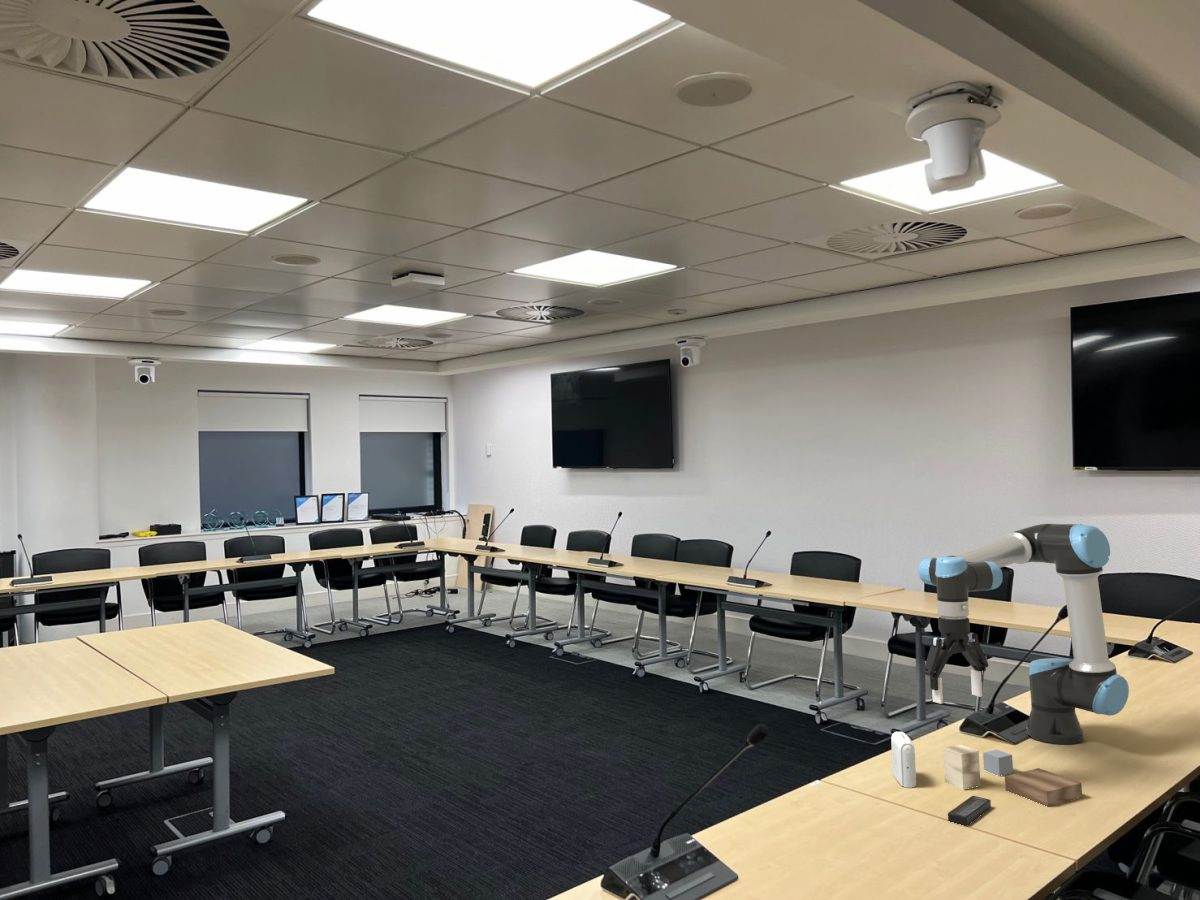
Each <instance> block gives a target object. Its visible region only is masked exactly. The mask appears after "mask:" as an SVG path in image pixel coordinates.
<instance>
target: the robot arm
mask: <svg viewBox="0 0 1200 900" xmlns="http://www.w3.org/2000/svg"><path fill="white" fill-rule="evenodd" d="M1109 542H1110V541H1109V540H1108V537H1107V536H1106V535H1105V533H1104V532H1103V531H1102V530H1101V529H1100V528H1098V527H1096V526H1093V525H1086V524H1081V523H1080V524H1079V523H1065V524H1064V523H1042V524H1036V525H1032V526H1028V527H1024V528H1021V529H1019V530H1014V531H1012V532H1009V533H1007V534H1005V536H1004V538H1002V539H999V540H995V541H992V542H989V543H986V544H983V545H980V546H977V547H973V548H970V549H967V550H965V551H963V550H962V551H961V552H957V553H955V554H951V555H948V556H941V557H938V558H936V557H931V558H928V557H927V558H924V559H923V560H922V561H921V562H920V563H919V566H918V576H919V578H920V580H921V581H922V583H924V584H927V585H931V586H933V587H936V595H937V596H936V598H937V599H936V600H937V603H936V604H937V614H938V615H937V616H939V617H938V618H937V621H938V622H937V623H938V631H939V632H940V634H941V636H940V638H939V637H934V636H932V637H931V638H930V648H929V651H928V655H927V658H926V661H925V664H924V667H923V670H922V673H923V675H925V676H927V677H929V682H930V683H929V685H930V687H929V688H930V690H931V691H932V692H931V694H932V702H933V703H937V704H940V705H941V704H942V705H943V704H944V696H943V695H944V694H943V678H942V677H940V676H941V673H942V671H943V669H944V668H945V666H946V664H947V662H948V660H949V659H950V657H952V656H953V655H956V654H958V653H959V654H962V655H963V657H964V658H965V659H966V661H967V662H968V663H969V665H971V667H972V669H970V681H971V682H970V683H971V696H972V695H973V696H976V697H980V698H982V697H983V686H982V685H983V684H982V683H983V682H984V681H983V680H984V679H983V672H986V670H987V668H988V667H989V662H988V660H987V658H986V656H985V653H984V651H983V649H982V647H981V644H980V642H979V636H978V634H977V633H974V632H971V627H970V626H971V625H970V622H971V621H970V618H969V615H970V610H969V609H970V608H969V593H971V592H982V591H990V590H991V591H992V590H995V589H997V588H999V587H1000V586H1001V584H1002V583H1003V577H1004V576H1003V571H1002V568H1003V567H1007V566H1010V565H1013V564H1017V565H1023V564H1027V563H1045V564H1055V565H1054V566H1055V572H1056V574H1058V576H1060V577H1062V580H1063V587H1064V594H1065V603H1066V609H1067V610H1066V611H1067V616H1068V618H1067V619H1068V624H1069V632H1070V639H1071V645H1072V646H1071V648H1072V655H1073V660H1071V659H1070V658H1065V657H1063V658H1061V657H1058V658H1057V657H1052V658H1039V659H1035V660H1032V661H1030V663H1029V670H1028V671H1029V672H1028V676H1029V690H1030V691H1029V692H1030V703H1031V704H1030V705H1031V710H1030V713H1029V715H1028V718H1027V724H1026V726H1025V729H1027V731H1028V732H1029V734H1030V735H1031V737H1032V738H1033V739H1032V738H1031V739H1032V740H1035V739H1036V741H1038V740H1039V741H1038V742H1042V741H1043V742H1042V743H1047V742H1048V744H1055V745H1056V744H1057V745H1074V744H1075V745H1076V744H1080V743H1082V742H1083V741H1084V740H1085V736H1084V730H1083V729H1082V728H1081V727H1082V726H1081V724H1080V721H1079V718H1078V716H1077V714H1076V709H1078V710H1082V711H1086V712H1090V713H1094V714H1095V715H1105V716H1110V717H1111V716H1115V715H1117V714H1119V713H1121V711H1122V710H1123V709H1124V708H1125V705H1126V704H1127V702H1128V699H1129V693H1130V691H1129V690H1130V688H1129V687H1130V686H1129V683H1128V681H1127V679H1126V678H1125V677H1123V676H1122V675H1120V674H1118V672H1117V666H1116V664H1115V663H1114V662H1113V661H1111V660H1110V659H1109V653H1108V645H1107V638H1106V630H1105V624H1104V615H1103V609H1102V601H1101V593H1100V587H1099V578H1098V577H1099V576H1100V575H1101V574H1102V572H1103V571H1104V570H1103V567H1104V566H1106V565H1107V564H1108V562H1109V560H1110V558H1109V557H1110V556H1111V548H1110V547H1111V546H1110V543H1109Z"/></svg>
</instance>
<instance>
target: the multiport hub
mask: <svg viewBox="0 0 1200 900" xmlns="http://www.w3.org/2000/svg"><path fill="white" fill-rule="evenodd" d="M991 801H992V800H991V799H989V798H985V797H981V796H976V795H971V796H969V797H968V798H967V799H965V800H964V801H963V802H961V803H960V804H958V805H957V806H956V807H954V808H953V809H952V810H950V811H948V812H947V822H948V821H950V822H949V823H951V822H954V823H953V824H955V823H957V824H956V825H958V824H961V825H960V826H962V825H964V826H963V827H968V826H970V825H971V824H972V823H974V822H975V821H976V820H977V818H978V817H979V816H980V815H982V814H983V813H984V814H985V813H987V812H988V811H990V810H991V809H992V803H991ZM990 808H991V809H990ZM986 811H987V812H986ZM984 814H983V815H984ZM983 815H982V816H983ZM980 817H981V816H980ZM980 817H979V818H980ZM979 818H978V819H979ZM975 819H976V820H975ZM974 820H975V821H974ZM973 821H974V822H973ZM971 822H972V823H971ZM970 823H971V824H970ZM969 824H970V825H969ZM967 825H968V826H967Z"/></svg>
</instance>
